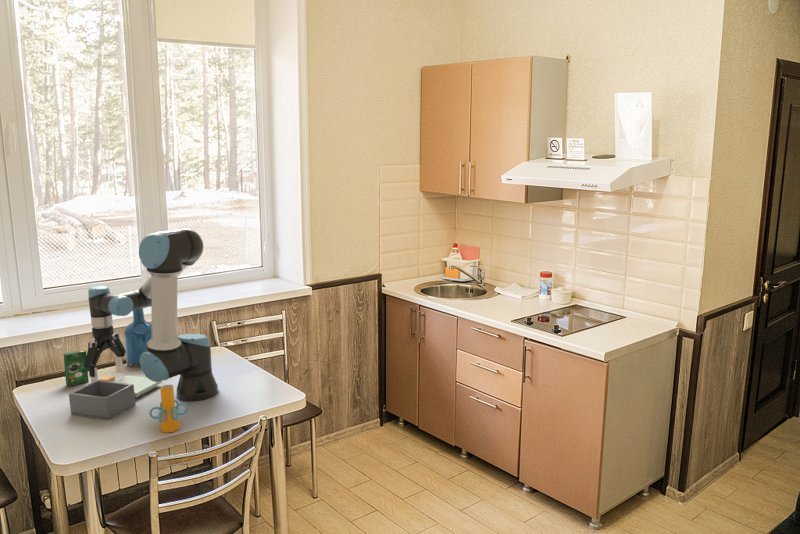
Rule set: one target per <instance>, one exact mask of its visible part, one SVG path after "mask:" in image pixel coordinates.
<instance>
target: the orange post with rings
mask: <svg viewBox="0 0 800 534" xmlns="http://www.w3.org/2000/svg"><path fill="white" fill-rule="evenodd" d="M174 391H175V390H174V384H165V385H161V386H160V398H161V400H160V404H159V406H154V407H151V409H150V410H149V417H150V418H151V419H154V420H158V422H159V423H160V424H159V425H160V431H161V432H162V433H165V434H169V433H170V434H171V433H173V432H177V431H179V429H180V428H181V427H180V426H181V425H180V417H179V416H185V415H186V414H187V413H188V411H189V407H188V404H186V403H185V402H181V403H179V400H177V399H175V394H174V393H175V392H174ZM175 404H176V405H175ZM180 406H183V407H185V408H184V409H185V410H184V411H183V412H179V411H178V410H179V408H180ZM154 410H159V412H158V415H157V416H154V415H153V411H154Z"/></svg>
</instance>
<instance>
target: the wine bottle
mask: <svg viewBox="0 0 800 534" xmlns="http://www.w3.org/2000/svg"><path fill="white" fill-rule="evenodd" d="M132 316H133V317H132V318H133V319H132V320H133V321H132V322H131V323H128V325H126V327H125V328H124V330H123V342H124V348H125V350H126V353H124V354H125V361H126V364H128V365H129V364H131V365H130V366H132V365H140V356H141V355H142V354H143V353H144V352H147V343H148V341H150V340H151V339H152V322H151V321H150V322H149V321H147V320H145V315H144V308H142V309H138V310H134V311H132Z"/></svg>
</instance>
